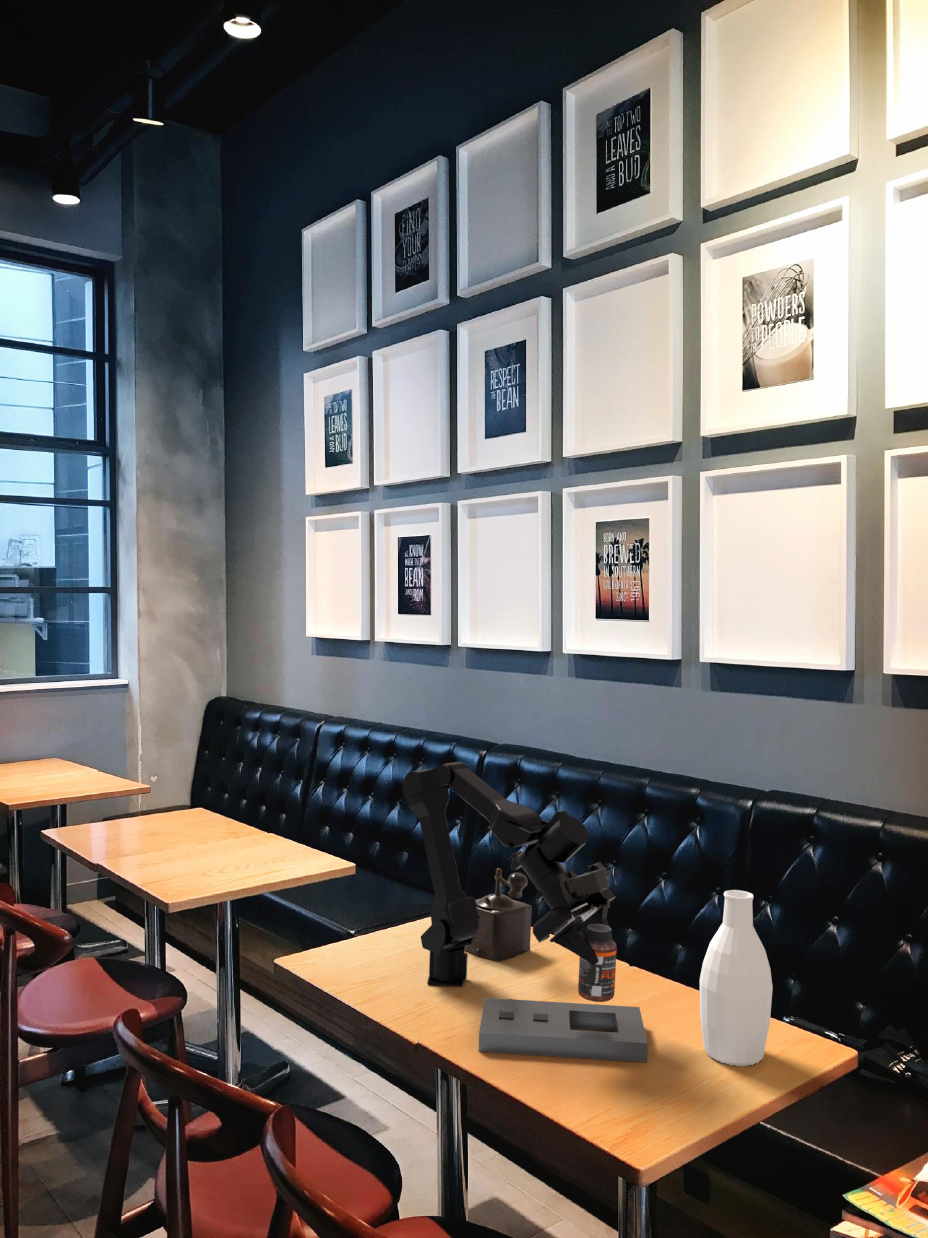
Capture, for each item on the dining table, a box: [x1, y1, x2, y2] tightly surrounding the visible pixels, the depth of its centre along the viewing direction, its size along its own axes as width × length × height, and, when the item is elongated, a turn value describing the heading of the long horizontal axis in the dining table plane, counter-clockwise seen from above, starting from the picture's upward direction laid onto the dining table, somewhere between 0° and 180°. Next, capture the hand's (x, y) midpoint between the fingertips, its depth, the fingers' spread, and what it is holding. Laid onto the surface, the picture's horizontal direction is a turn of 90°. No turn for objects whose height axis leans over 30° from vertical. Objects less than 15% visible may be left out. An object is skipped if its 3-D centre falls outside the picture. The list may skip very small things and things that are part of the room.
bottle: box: [699, 889, 773, 1067], centre depth 158 cm, size 11×11×25 cm
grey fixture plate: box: [478, 997, 648, 1063], centre depth 163 cm, size 26×14×3 cm, turn 85°
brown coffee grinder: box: [465, 867, 533, 962], centre depth 201 cm, size 16×11×18 cm
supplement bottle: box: [577, 924, 617, 1003], centre depth 163 cm, size 6×6×11 cm
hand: (605, 958), depth 163 cm, fingers closed on supplement bottle, 6 cm apart
